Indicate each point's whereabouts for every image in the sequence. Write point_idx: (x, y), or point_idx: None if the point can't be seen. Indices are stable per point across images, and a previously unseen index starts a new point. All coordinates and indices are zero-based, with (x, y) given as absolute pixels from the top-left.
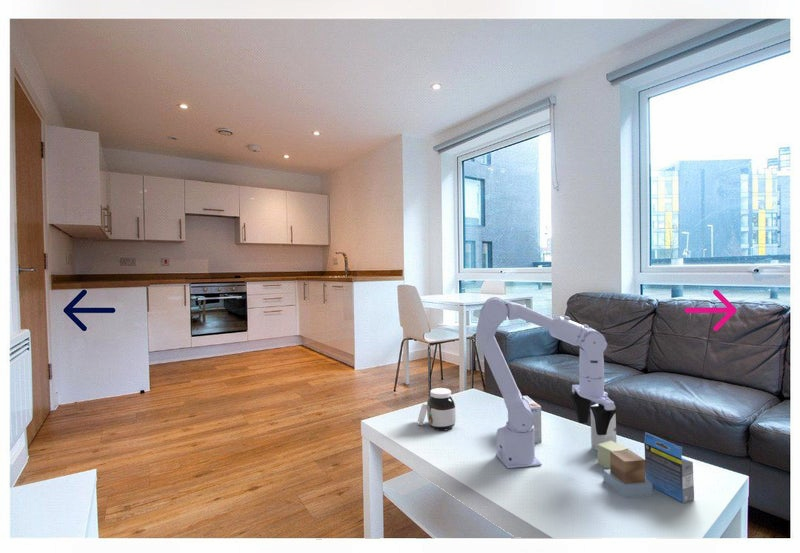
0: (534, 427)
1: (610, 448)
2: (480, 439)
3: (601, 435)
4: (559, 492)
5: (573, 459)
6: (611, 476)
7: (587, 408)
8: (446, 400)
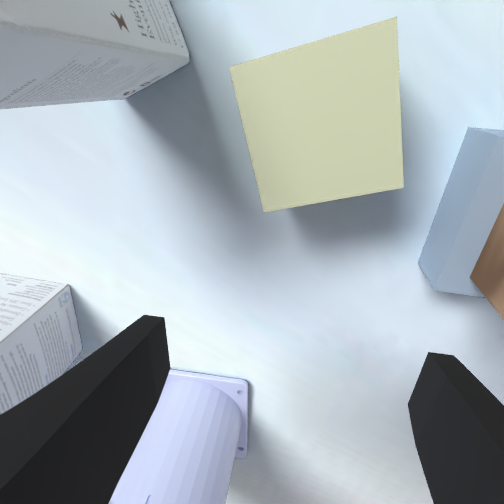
0: (27, 357)
1: (344, 173)
2: None
3: (123, 67)
4: (409, 421)
5: (223, 258)
6: None
7: (69, 444)
8: None
